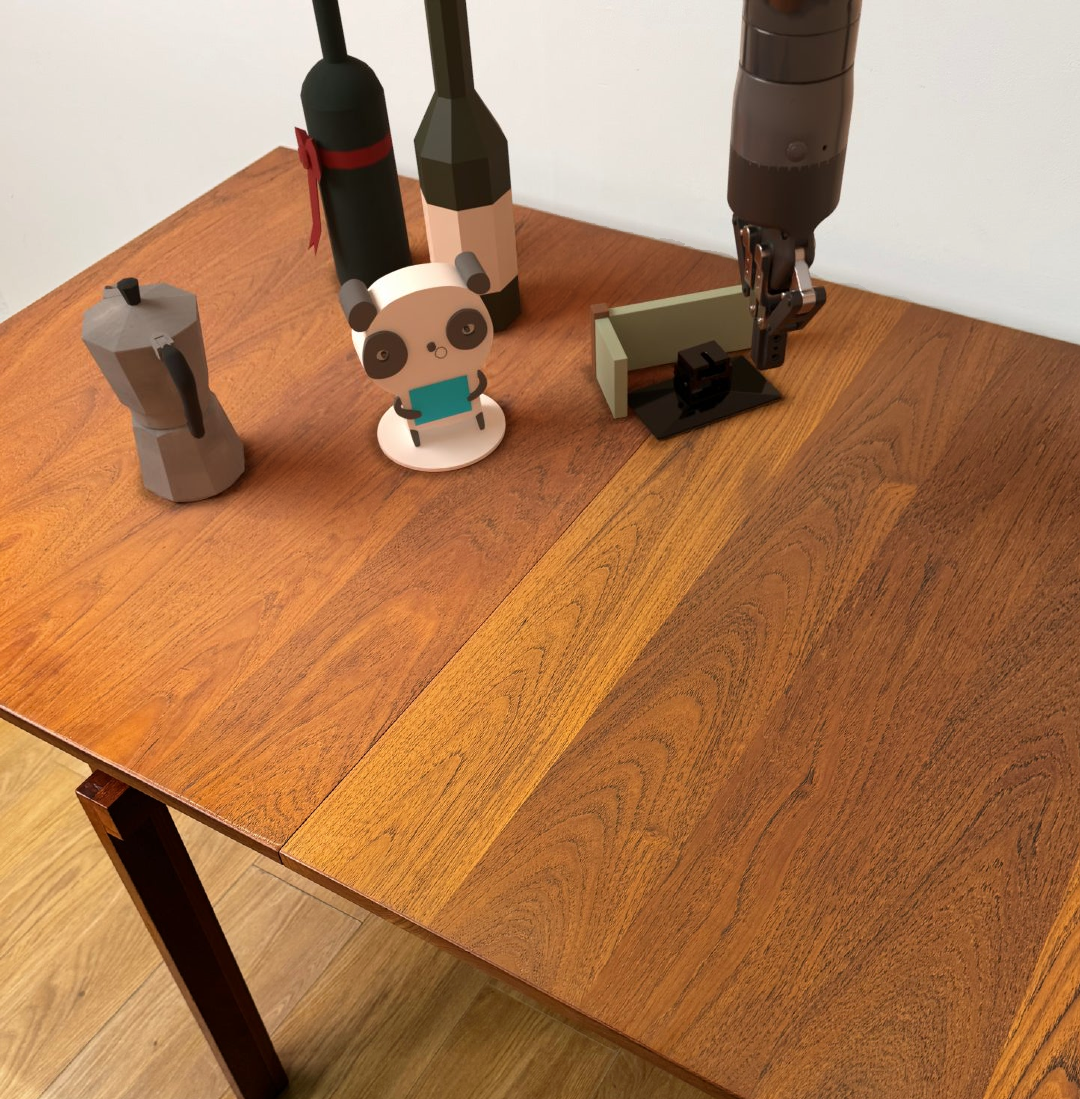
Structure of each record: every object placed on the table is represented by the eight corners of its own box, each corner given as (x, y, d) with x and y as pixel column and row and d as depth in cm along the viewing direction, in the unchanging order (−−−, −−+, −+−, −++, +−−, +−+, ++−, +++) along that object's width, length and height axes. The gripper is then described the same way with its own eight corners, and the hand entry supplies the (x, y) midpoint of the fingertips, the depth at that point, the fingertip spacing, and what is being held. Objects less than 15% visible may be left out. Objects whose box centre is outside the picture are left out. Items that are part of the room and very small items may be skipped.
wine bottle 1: (304, 276, 119) (225, -57, 96) (390, 243, 122) (334, -88, 99) (338, 311, 115) (264, -29, 92) (427, 275, 118) (377, -62, 95)
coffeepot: (118, 451, 103) (38, 264, 89) (215, 410, 106) (152, 223, 92) (184, 547, 95) (107, 358, 81) (287, 501, 98) (231, 310, 84)
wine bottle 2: (445, 287, 117) (400, -53, 93) (527, 289, 116) (502, -55, 92) (429, 335, 112) (377, -12, 88) (514, 338, 110) (485, -13, 87)
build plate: (657, 442, 100) (658, 398, 96) (619, 397, 104) (619, 352, 101) (782, 398, 102) (788, 353, 99) (740, 356, 107) (744, 310, 103)
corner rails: (775, 334, 108) (783, 269, 103) (805, 382, 104) (815, 316, 99) (591, 369, 107) (589, 304, 102) (613, 419, 102) (612, 354, 97)
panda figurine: (388, 487, 98) (356, 331, 86) (357, 410, 105) (323, 256, 93) (522, 451, 100) (509, 294, 88) (483, 378, 107) (466, 223, 95)
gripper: (886, 170, 71) (846, 405, 85) (807, 80, 79) (783, 307, 93) (769, 192, 71) (748, 425, 84) (701, 99, 79) (693, 325, 92)
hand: (766, 363), depth 88 cm, fingers closed
